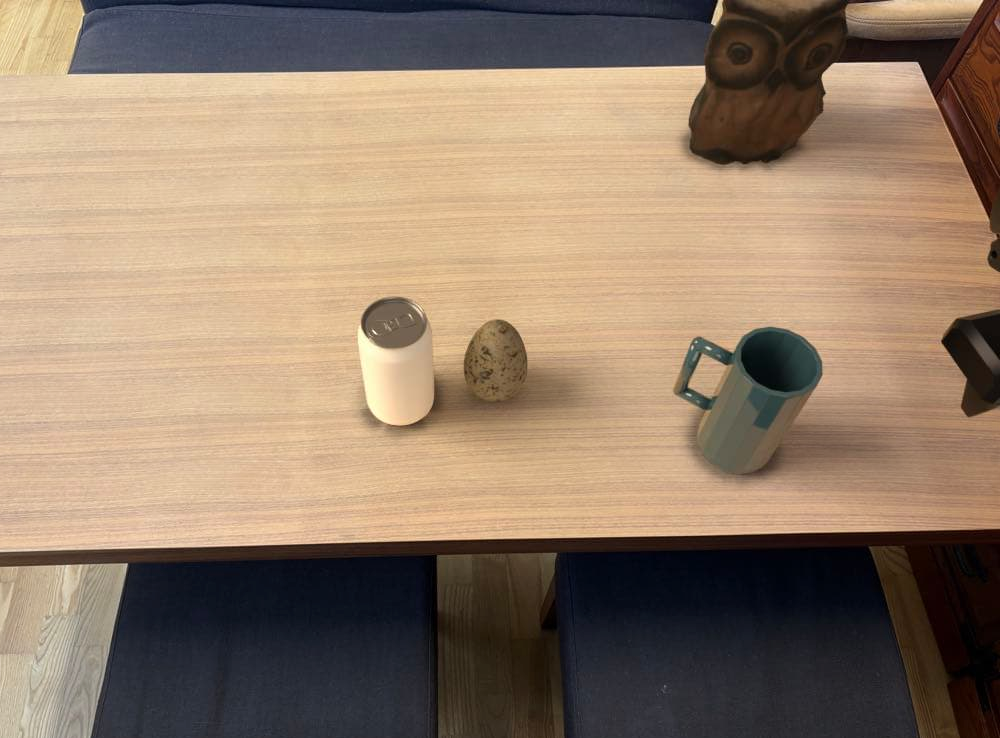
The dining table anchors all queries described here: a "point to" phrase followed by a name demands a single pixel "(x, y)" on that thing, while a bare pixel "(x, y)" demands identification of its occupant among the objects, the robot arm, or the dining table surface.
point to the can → (397, 360)
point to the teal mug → (751, 395)
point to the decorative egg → (495, 361)
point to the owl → (764, 77)
